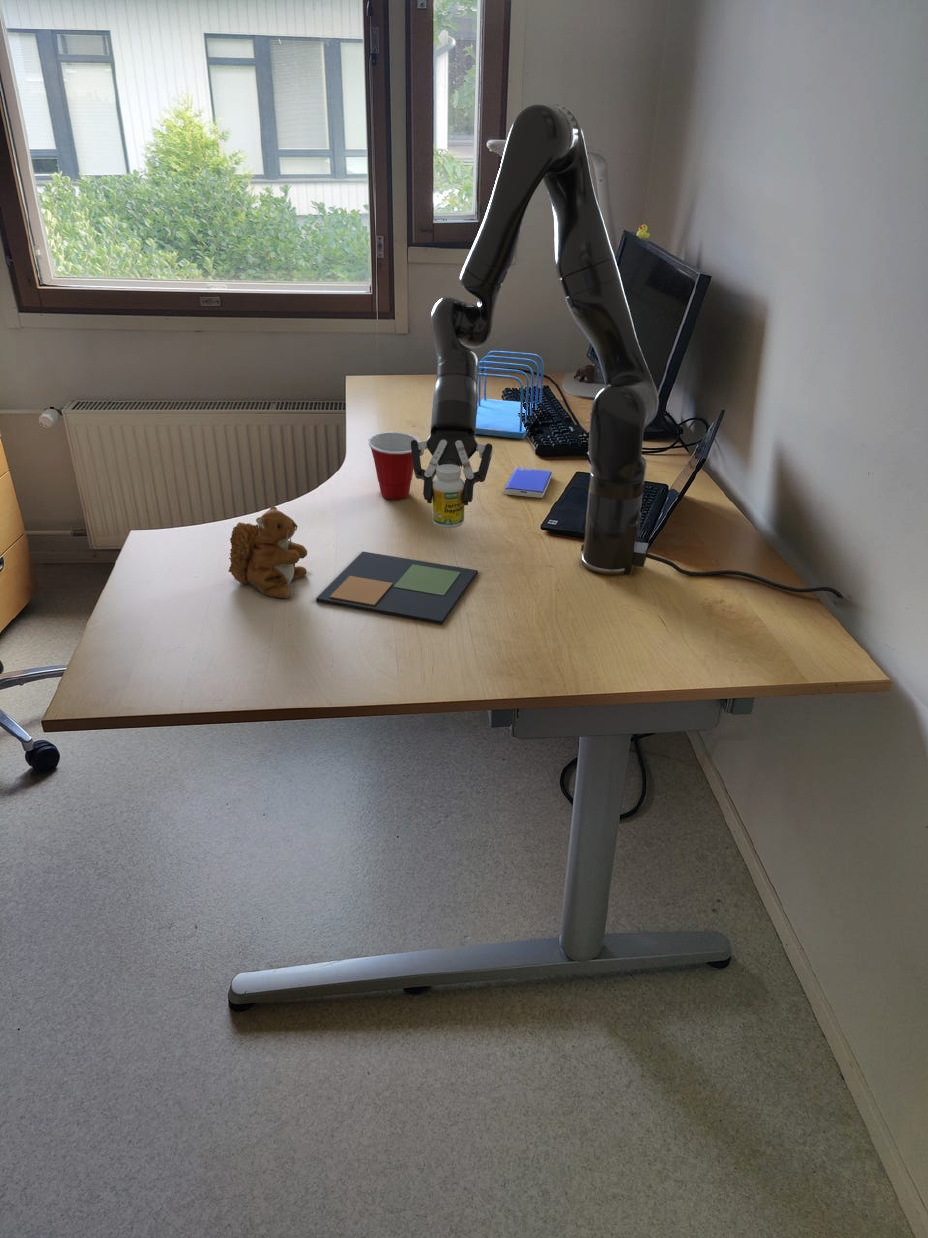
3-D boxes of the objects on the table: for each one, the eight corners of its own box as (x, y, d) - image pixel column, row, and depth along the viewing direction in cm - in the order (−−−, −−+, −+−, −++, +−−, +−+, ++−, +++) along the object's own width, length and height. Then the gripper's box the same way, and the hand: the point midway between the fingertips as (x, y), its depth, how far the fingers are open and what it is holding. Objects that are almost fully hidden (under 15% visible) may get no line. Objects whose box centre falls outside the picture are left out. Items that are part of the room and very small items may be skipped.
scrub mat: (477, 573, 156) (477, 569, 156) (441, 624, 141) (442, 620, 140) (362, 554, 162) (362, 550, 162) (316, 601, 146) (315, 597, 146)
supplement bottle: (453, 513, 152) (453, 460, 147) (470, 524, 148) (471, 470, 143) (426, 520, 150) (426, 465, 145) (443, 531, 146) (443, 476, 141)
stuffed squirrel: (291, 601, 146) (284, 527, 140) (215, 588, 150) (205, 516, 143) (317, 575, 155) (312, 504, 148) (244, 563, 158) (236, 494, 152)
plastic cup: (390, 509, 180) (389, 452, 174) (359, 493, 187) (357, 438, 181) (431, 496, 187) (432, 441, 181) (400, 481, 194) (399, 428, 188)
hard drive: (515, 467, 198) (504, 487, 188) (552, 471, 196) (543, 491, 186) (515, 474, 199) (504, 494, 188) (551, 477, 197) (542, 498, 187)
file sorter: (482, 405, 244) (484, 348, 236) (544, 411, 240) (548, 354, 232) (455, 432, 223) (456, 371, 216) (523, 440, 219) (526, 377, 211)
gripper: (410, 395, 146) (401, 491, 142) (497, 399, 145) (491, 495, 141) (414, 417, 153) (406, 509, 149) (497, 421, 153) (491, 513, 148)
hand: (447, 502), depth 145 cm, fingers closed on supplement bottle, 5 cm apart
